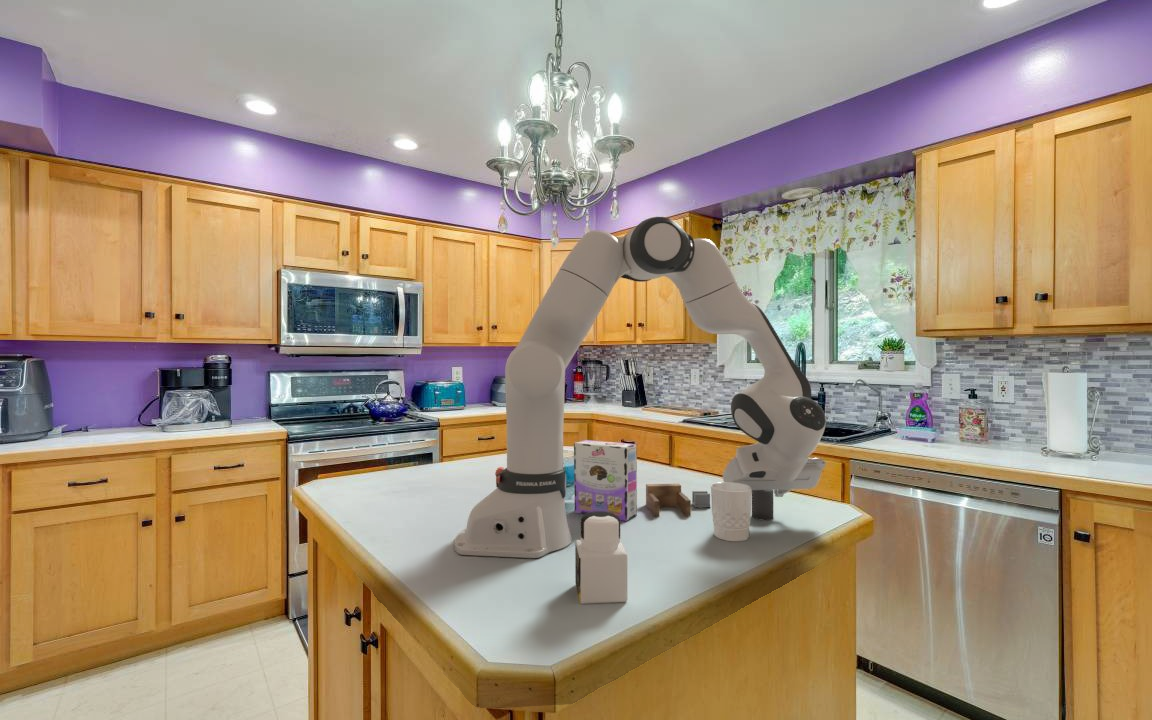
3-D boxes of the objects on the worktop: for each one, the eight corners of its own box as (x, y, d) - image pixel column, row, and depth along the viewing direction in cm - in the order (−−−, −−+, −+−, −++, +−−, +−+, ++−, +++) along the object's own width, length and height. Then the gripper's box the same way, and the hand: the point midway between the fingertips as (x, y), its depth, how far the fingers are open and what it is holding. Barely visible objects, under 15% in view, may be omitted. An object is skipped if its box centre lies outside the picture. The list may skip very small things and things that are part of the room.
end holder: (655, 516, 121) (654, 494, 120) (645, 504, 130) (645, 484, 130) (690, 516, 121) (690, 493, 121) (678, 504, 131) (678, 483, 131)
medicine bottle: (575, 584, 85) (575, 508, 85) (619, 582, 85) (619, 507, 85) (579, 604, 78) (579, 522, 78) (627, 602, 78) (627, 521, 78)
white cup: (754, 544, 103) (754, 492, 103) (711, 541, 104) (711, 490, 104) (749, 531, 111) (749, 482, 110) (710, 528, 112) (710, 481, 112)
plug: (756, 520, 118) (756, 477, 118) (748, 514, 122) (748, 473, 122) (776, 520, 118) (776, 477, 118) (768, 514, 123) (768, 473, 123)
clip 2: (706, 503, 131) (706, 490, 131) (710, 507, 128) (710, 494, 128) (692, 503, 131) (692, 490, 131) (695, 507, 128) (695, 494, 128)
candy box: (638, 515, 121) (638, 443, 121) (626, 522, 117) (626, 447, 116) (586, 506, 129) (586, 438, 129) (573, 512, 124) (573, 441, 124)
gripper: (823, 446, 114) (800, 481, 124) (729, 447, 113) (714, 483, 122) (835, 471, 110) (810, 506, 119) (737, 473, 108) (721, 508, 118)
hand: (761, 494), depth 121 cm, fingers open, 6 cm apart
